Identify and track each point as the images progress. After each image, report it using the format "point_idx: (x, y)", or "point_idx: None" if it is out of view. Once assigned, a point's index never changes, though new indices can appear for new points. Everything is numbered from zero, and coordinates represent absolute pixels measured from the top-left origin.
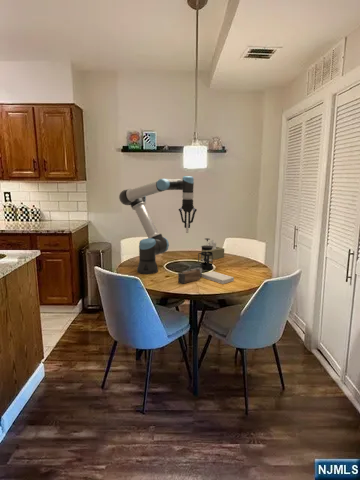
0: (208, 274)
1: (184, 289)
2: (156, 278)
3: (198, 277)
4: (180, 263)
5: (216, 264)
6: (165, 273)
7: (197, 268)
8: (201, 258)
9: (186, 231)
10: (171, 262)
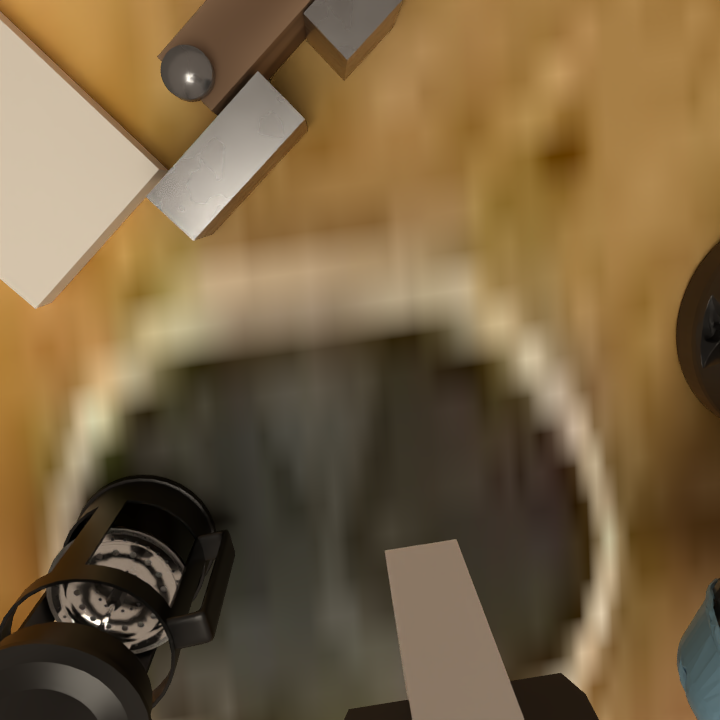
0: (77, 153)
1: None
2: (682, 55)
3: None
4: None
5: None
6: (589, 269)
7: (193, 65)
8: (179, 580)
9: (457, 564)
10: None
